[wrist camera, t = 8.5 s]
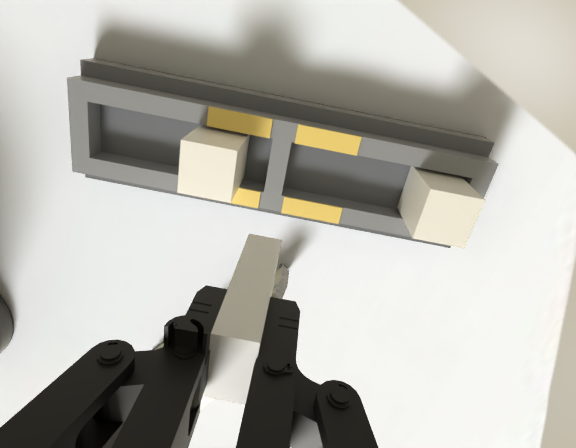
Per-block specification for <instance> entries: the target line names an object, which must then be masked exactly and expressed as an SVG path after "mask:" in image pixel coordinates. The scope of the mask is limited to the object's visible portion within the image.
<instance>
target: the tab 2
mask: <svg viewBox="0 0 576 448" xmlns="http://www.w3.org/2000/svg"><path fill="white" fill-rule="evenodd" d="M484 203H485V199H484V198H483V197H482V196H481V195H480V194H479V193H478V192H477V191H476V190H475V189H474V188H473V187H471V186H470V185H469V184H468V183H467V182H466V181H465V180H464V179H463V178H462V177H461V176H459V175H454V174H449V173H444V172H439V171H434V170H429V169H424V168H419V167H414V166H411V167H410V170H409V173H408V176H407V179H406V182H405V185H404V188H403V191H402V194H401V197H400V200H399V203H398V206H397V208H398V210H399V212H400V214H401V216H402V218H403V220H404V222H405V224H406V226H407V228H408V230H409V232H410V234H411V236H412V238H413V239H418V240H423V241H428V242H434V243H439V244H444V245H449V246H454V247H459V248H465V246H466V244H467V242H468V239H469V237H470V235H471V232H472V230H473V228H474V226H475V223H476V221H477V219H478V216H479V214H480V212H481V210H482V207H483V205H484Z"/></svg>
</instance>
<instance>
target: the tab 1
mask: <svg viewBox="0 0 576 448" xmlns="http://www.w3.org/2000/svg"><path fill="white" fill-rule="evenodd" d="M249 138H250V134H245V133H240V132H235V131H230V130H225V129H219V128H214V127H209V126H207V125H203V124H201V125H199V126H198V127H197V128H195V129H194V130H193V131H191V132H190V133H189V134H188V135H186V136H185V137H184V138H182V139H181V143H180V158H179V174H178V189H177V193H181V194H187V195H192V196H197V197H202V198H207V199H212V200H217V201H223V202H228V203H231V202H232V200H233V198H234V196H235V194H236V192H237V190H238V188H239V186H240V184H241V182H242V180H243V178H244V173H245V166H246V159H247V152H248V145H249Z"/></svg>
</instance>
